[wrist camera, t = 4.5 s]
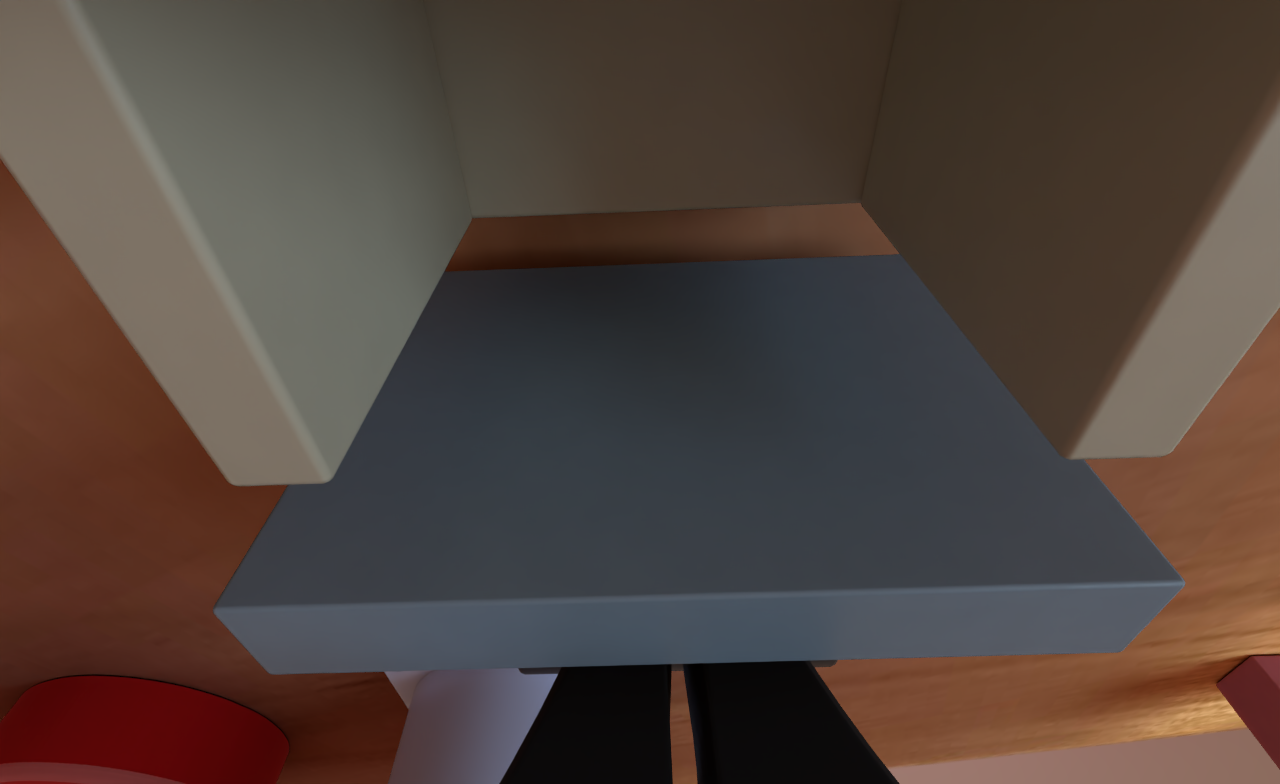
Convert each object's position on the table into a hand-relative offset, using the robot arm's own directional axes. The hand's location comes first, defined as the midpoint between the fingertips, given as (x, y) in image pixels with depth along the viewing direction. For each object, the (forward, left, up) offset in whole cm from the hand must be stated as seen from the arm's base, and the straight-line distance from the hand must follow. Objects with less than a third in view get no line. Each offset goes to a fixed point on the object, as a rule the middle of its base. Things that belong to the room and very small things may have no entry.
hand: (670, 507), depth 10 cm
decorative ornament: (-17, +20, -4) cm, 27 cm away
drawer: (+5, 0, -3) cm, 6 cm away
